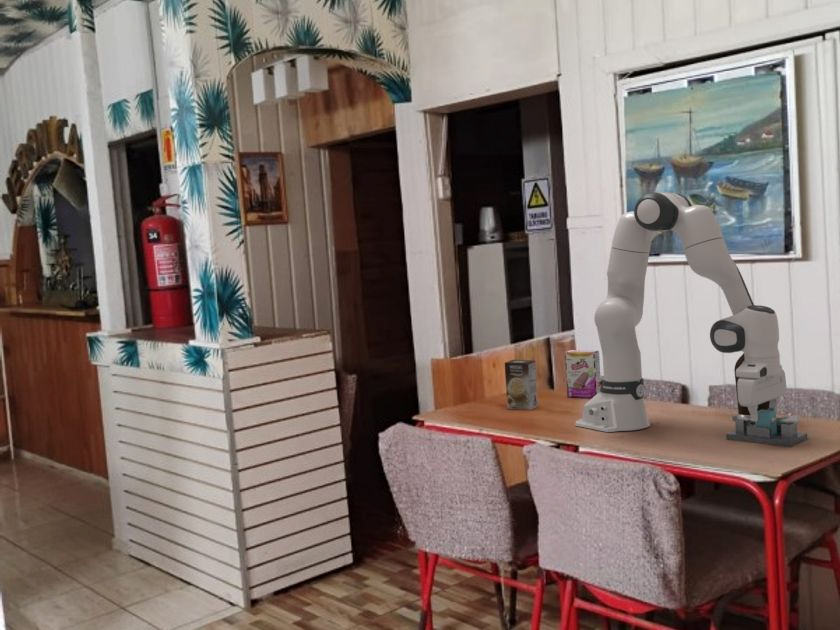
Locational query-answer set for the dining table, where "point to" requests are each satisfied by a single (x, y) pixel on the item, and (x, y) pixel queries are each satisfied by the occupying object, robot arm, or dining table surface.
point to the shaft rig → (767, 431)
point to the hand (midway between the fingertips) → (763, 417)
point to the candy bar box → (582, 373)
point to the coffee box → (521, 384)
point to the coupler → (767, 420)
